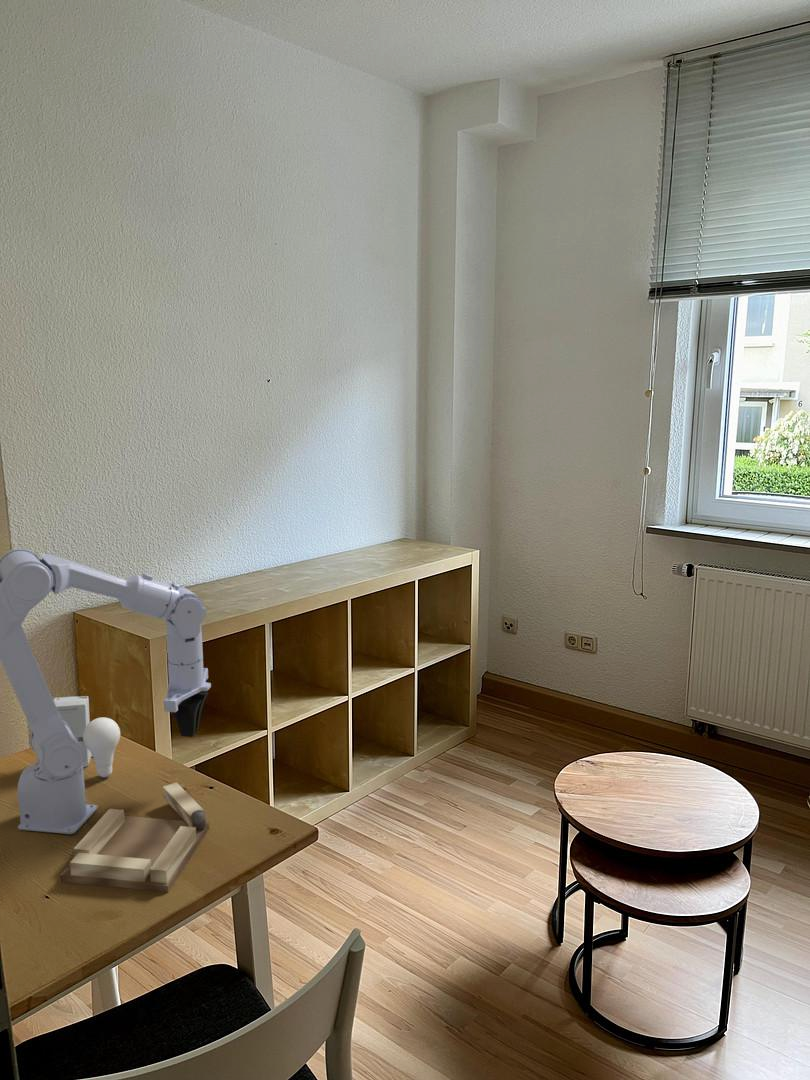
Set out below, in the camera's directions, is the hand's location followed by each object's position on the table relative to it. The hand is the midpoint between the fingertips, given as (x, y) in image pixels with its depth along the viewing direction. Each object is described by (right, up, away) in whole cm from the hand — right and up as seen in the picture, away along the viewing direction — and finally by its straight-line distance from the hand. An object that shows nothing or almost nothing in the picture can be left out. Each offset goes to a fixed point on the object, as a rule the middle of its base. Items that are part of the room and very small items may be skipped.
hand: (189, 733), depth 145 cm
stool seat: (-3, -14, -18) cm, 23 cm away
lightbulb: (-16, -9, +4) cm, 19 cm away
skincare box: (-23, -8, +9) cm, 26 cm away
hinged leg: (+2, -10, -9) cm, 14 cm away
